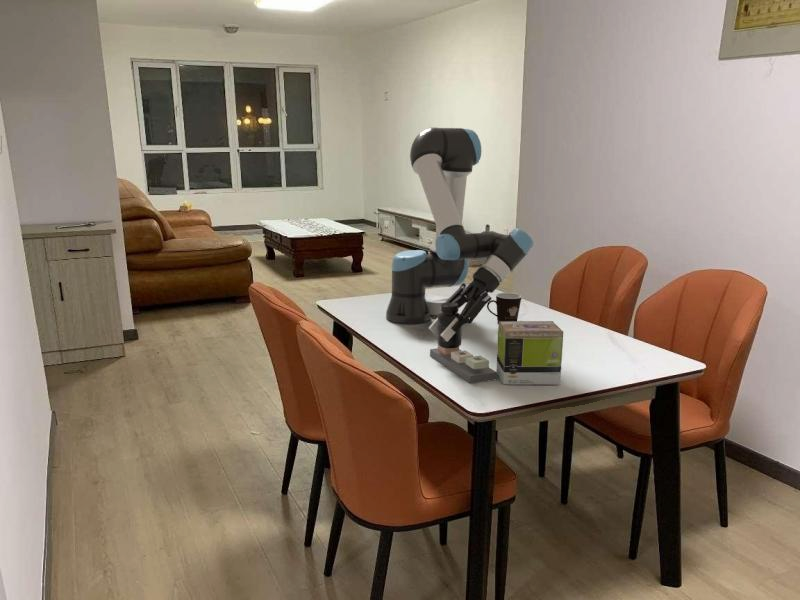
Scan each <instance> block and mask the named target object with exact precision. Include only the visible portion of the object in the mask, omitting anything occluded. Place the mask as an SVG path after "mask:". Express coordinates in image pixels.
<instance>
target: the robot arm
mask: <svg viewBox="0 0 800 600" xmlns="http://www.w3.org/2000/svg"><path fill="white" fill-rule="evenodd" d="M409 153H410V155H409V159H410V164H411V168H412V170H413V172H414V173H415V174H417V175H418V178H419V181H420V182H421V186H422V189H423V191H424V195H425V197H426V200H427V203H428V206H429V209H430V213H431V215H432V218H433V221H434V222H435V225H436V227H435V228H436V229H435V236H434V237H435V241H434V243H433V244H432V245H431V246H430V247H429V253H428V254H427V252H426V251H425V250H421V249H416V250H414V249H411V250H404V251H400V252H398V253H396V254H395V255H394V256H393V257H392V264H391V297H390V300H389V303H388V305H387V308H386V312H385V318H386V320H388V321H390V322H392V323H397V324H407V325H408V324H409V325H412V324H413V325H415V324H421V323H425V322H428V321H429V320H430V315H429V314H430V313H429V309H428V306H427V302H426V299H425V296H426V289H428V288H442V287H451V288H452V287H454V286H459V285H460V286H459V288H457V290H456V291H455V292H454V293H452V294H451V296H450V297H449V299H448V300H447V301H446V302H445V303H448V302H452V303H457V304H458V309H460V308H461V307H462V306H463V305H464V307H463V308H462V310H461V312H460V313H459V314H460V316H457V318H458V319H459V320H458V319H457V318H455V319H454V320H453V321H452V322H451V324H450V325H449V326H448V327H447V328H446V329H445V330H444V331H443V333H442V334H441V336H442V337H443V338H444V339H445V340H446V341H447V342H448V341H449V339H450V338H451V337H452V336H453V335H454V334H455V333H456V332H457V331H458V330H459V328H460V327H461V326H464V325H466V324H467V325H471V324H472V323H473V321H474V320H475V319H476V317H477V316H478V315H479V313H481V311H482V310H483V308H484V307H485V306H487V304H488V302H489V301H491V300H492V297H491V296H490V294H493V293H494V292H495V290H497V288H499V286H500V283H502V282H503V281H504V280H505V279H506V278H508V276H509V274H510V273H511V272H512V271H513V270H514V269H515V268H516V267H517V266H518V264H519V263H520V262H521V261H522V260H523V259H524V258H525V257H526V256H527V255H528V253H529V252H530V250H531V249H532V248H533V246H534V241H533V238H532V237H531V236H530V235H529V234H528V233H527V232H526V231H525V230H523V229H521V228H519V227H518V228H517V227H516V228H514V229H513V230H511V231H510V232H508V234H503V233H499V232H495V231H494V230H490V231H489V230H484V231H482V232H479V233H478V232H476V233H475V232H471V233H468V232H466V230H465V228H464V225H463V218H464V217H463V216H464V209H465V208H464V207H465V197H466V189H467V178H468V176H469V175H470V174H471V173H472V172H473V167H474V166H475V165H477V164H479V162H480V160H481V156H482V144H481V140H480V138H479V135H478V134H477V133H476V131H474V130H473V129H469V128H462V127H429V128H425V129H423V130H422V131H421V132H419V133H418V134H417V135H416V136H415V138H414V139H413V141H412V144H411V148H410V152H409ZM469 259H470V260H471V259H473V260H475V259H486V260H485V261H484V262H483V263H482V264H481V267H478V269H477V270H476V271H475V272H474V273H473V274H472V279H473V280H472V281H471V282H469V284H466V283H465V282H464V281H465V280H466V278H467V276H468V272H469V262H468V261H469ZM489 293H490V294H489ZM428 329H429V331H431V332H432V333H433V335H436V334H438V316H437V317H436V319H435V320H434V321H433V322H432V323H431V324H430V325H429V327H428Z"/></svg>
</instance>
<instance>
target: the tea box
mask: <svg viewBox="0 0 800 600" xmlns="http://www.w3.org/2000/svg"><path fill="white" fill-rule="evenodd" d="M497 326H498V328H497V348H496V372H497V375H498V377H499V379H500V381H501V380H502V381H501V384H503V386H504V385H508V386H509V385H521V386H522V385H530V386H531V385H534V386H536V385H538V386H539V385H542V386H543V385H544V386H545V385H548V386H549V385H550V386H551V385H553V386H554V385H555V386H559V385H561V377H562V376H561V374H562V359H563V347H564V346H563V345H564V330H562V329H561V328H560V327H559V326H558V325H557V324H556V323H555V322H554V321H552V320H544V321H543V320H541V321H540V320H539V321H538V320H537V321H536V320H534V321H533V320H532V321H531V320H530V321H529V320H525V321H523V320H517V321H499V325H498V324H497Z"/></svg>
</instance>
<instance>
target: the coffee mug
mask: <svg viewBox="0 0 800 600" xmlns="http://www.w3.org/2000/svg"><path fill="white" fill-rule="evenodd" d="M521 302H522V295H521V294H519V293H513V292H500V293H496V294H495V300H494V299H491V300H490V301H489V302H488V303H487V304H486V309H487V310H488V312H489V313H490V314H492V315H494V316H495V317H496V318H497V319H496V320H497V326H498V325H499V321H518V318H519V313H520V308H521ZM491 303H495V304H496V313H495V312H493V311H492V310H491V309H490V307H489V306H490V304H491Z"/></svg>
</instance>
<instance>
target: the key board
mask: <svg viewBox="0 0 800 600" xmlns="http://www.w3.org/2000/svg"><path fill="white" fill-rule="evenodd" d="M459 351H463V350H461V349H460V348H459ZM429 357H431V358H432V357H433V358H432V359H434V360H435V359H436V362H438V361H439V362H438V363H440V364H442V365H443V366H444V367H445V368H447V369H449V370H450V371H451V372H453V373H454V374H455V375H457V376H458V377H460V378H461V379H463V380H465V381H466V383H468V384H475V383H476V384H477V383H482V381H483V382H488V380H490V381H495V380H494V379H496V380H497V375H498V373H497V371H496V370H493V369H492V368H490V366H489V367H487V368H480V369H473V368H471V367H470V366H468V365H466V364H465V363H457V362H456V361H454V360H453V359H451V354H446V355H445V354H443V353H442V352H440V351H439V350H438V347H437V348H430V350H429Z"/></svg>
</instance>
